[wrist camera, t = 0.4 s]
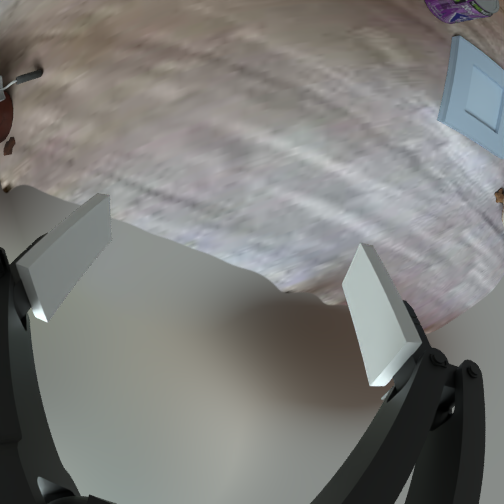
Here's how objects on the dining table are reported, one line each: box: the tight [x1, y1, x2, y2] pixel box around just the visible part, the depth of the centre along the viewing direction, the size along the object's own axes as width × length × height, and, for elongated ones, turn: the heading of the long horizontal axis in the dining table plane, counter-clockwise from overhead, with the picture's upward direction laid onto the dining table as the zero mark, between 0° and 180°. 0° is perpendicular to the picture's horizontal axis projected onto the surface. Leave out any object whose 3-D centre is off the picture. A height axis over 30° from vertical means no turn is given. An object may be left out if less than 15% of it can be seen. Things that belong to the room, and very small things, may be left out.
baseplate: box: [437, 36, 504, 159], centre depth 27 cm, size 16×16×2 cm
